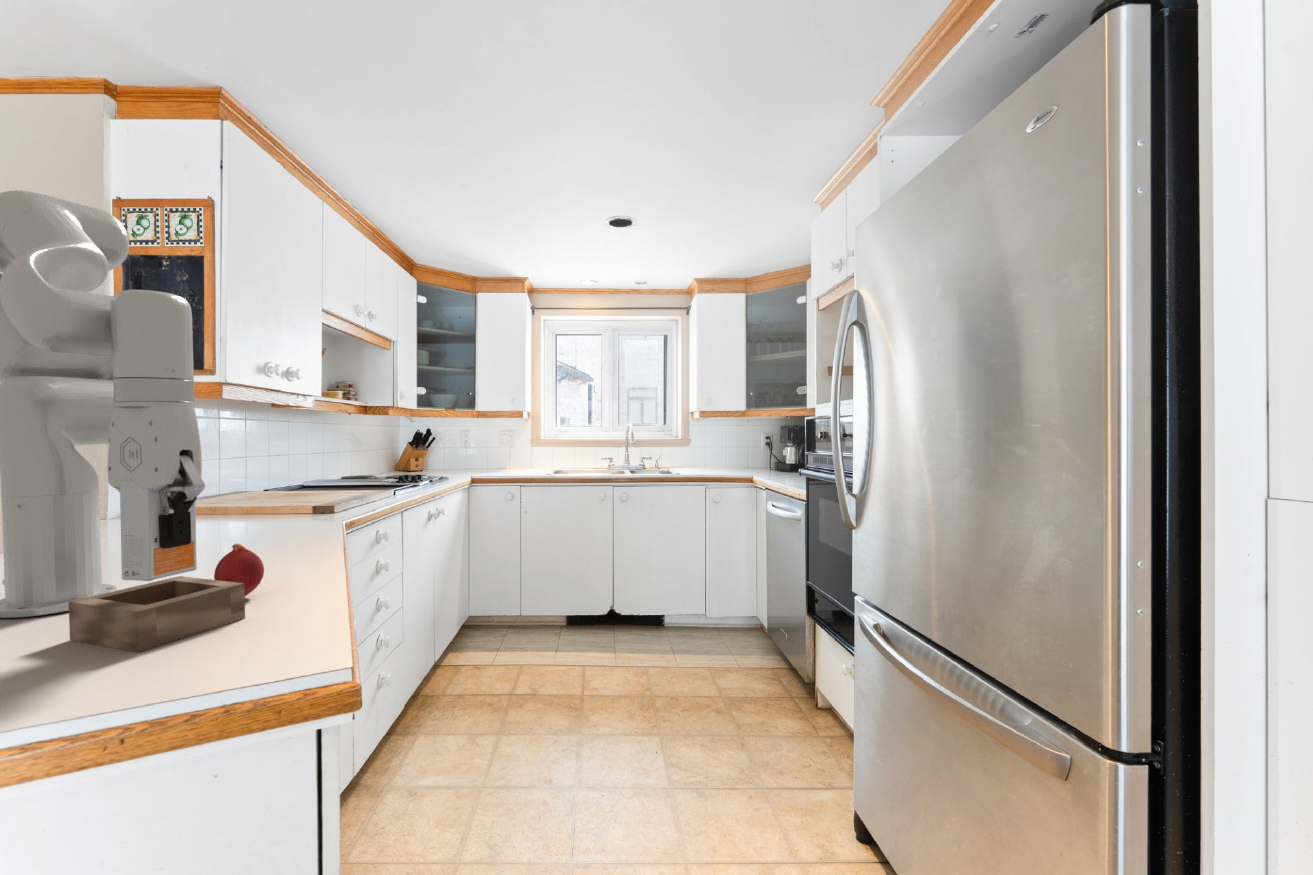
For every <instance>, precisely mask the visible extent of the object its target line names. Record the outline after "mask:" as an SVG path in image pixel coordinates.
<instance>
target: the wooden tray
mask: <svg viewBox="0 0 1313 875" xmlns="http://www.w3.org/2000/svg"><path fill="white" fill-rule="evenodd" d="M245 600H246V596H245V593H244V583H236V582H227V581H218V580H215V579H209V578H199V577H189V576H181V575H179V576H175V577H170V578H165V579H162V580H157V581H154V582H153V581H152V582H149V583H145V584H141V585H140V584H139V585H134V586H132V587H127V588H123V589H118V590H117V591H113V592H109V593H105V594H100V595H96V596H91V597H87V598H83V599H78V600H74V601H70V602H69V611H68V621H69V622H68V623H69V627H68V628H69V641H72V642H73V641H74V642H79V643H83V644H84V643H85V644H90V645H94V646H101V647H105V648H111V649H112V648H113V649H118V650H123V651H129V652H135V653H141V652H144V651H148V650H150V649H153V648H156V647H159V646H160V647H161V646H163V645H166V644H170V643H173V642H175V641H176V642H177V641H178V639H179V640H182V639H185V638H188V637H190V636H194V635H197V634H201V633H204V632H207V631H209V630H213V629H215V628H216V629H217V628H219V627H222V626H225V625H228V624H231V623H234V621H235V622H238V621H240V619H241V620H243V619H246V602H245ZM172 641H173V642H172Z"/></svg>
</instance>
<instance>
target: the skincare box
mask: <svg viewBox="0 0 1313 875" xmlns="http://www.w3.org/2000/svg"><path fill="white" fill-rule="evenodd" d="M177 486H179V482H173V483H172V484H168V487H177ZM176 494H177V493H171V497H172V500H173V498H174V497H175V495H176ZM119 502H120V508H119V510H120V548H121V549H120V550H121V552H120V553H121V554H120V555H121V558H120V559H121V579H122V580H123V581H141V582H151V581H154V580H158V579H162V578H167V577H170V576H174V575H179V574H183V573H188V572H193V571H196V570H197V568H198V567H197V565H198V564H197V522H196V521H197V519H196V518H197V517H196V514H197V512H196V508H197V507H196V501H195V502H194V503H193V506H194V509H193V511H192V512H190V516H191V543H190V544H188V545H183V546H177V547H172V548H166V549H165V548H161V547H160V541H159V515H164V513H163V510H162V506H161V501H160V496H159V490H148V489H143V488H138V487H137V484H136V482H135V481H134V480H128V479H123V480H120V492H119Z"/></svg>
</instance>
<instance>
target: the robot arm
mask: <svg viewBox="0 0 1313 875" xmlns="http://www.w3.org/2000/svg"><path fill="white" fill-rule="evenodd" d="M129 250H130V239H129V235H128V232H127V229H126V228H125V226H124V224H122V222H121V221H120V220H119V219H118V218H117V217H116V216H114V215H112V214H111V213H109V212H108V211H105V210H103V209H100V208H98V207H97V208H95V207H92V206H89V205H85V204H81V203H78V202H73V201H70V200H66V199H62V198H57V197H54V196H52V195H47V194H42V193H39V192H35V191H27V190H16V189H15V190H5V191H2V192H0V494H1V495H0V496H1V520H2V521H1V522H2V523H1V526H2V548H3V549H2V550H3V552H2V553H3V579H2V585H3V586H4V598H2V599H0V619H3V618H4V619H9V618H12V619H13V618H15V619H16V618H31V617H38V616H39V617H40V616H46V615H52V614H57V613H64V612H69V602H70V601H74V600H78V599H83V598H87V597H91V596H96V595H100V594H105V593H109V592H113V591H118V590H117V589H118V587H117V586H115V585H113V584H108V583H107V584H106V583H103V576H102V574H103V573H102V569H103V568H102V544H101V542H102V539H101V513H100V512H101V510H100V509H101V508H100V506H101V504H100V481H99V476H98V473H97V472H96V470H95V467H94V466H93V465H92V464H91V463H90V462H89V461H88V460H87V459H86V458H85V457H84V456H83V455H82V454H81V453H80V452H79V450H77V449H76V448H75V447H77V446H87V445H89V446H91V445H107V446H108V447H107V448H108V449H107V482H108V484H109V486H111V487H112V488H114V489H116V490H117V491H118V492H119V493H120V480H123V479H128V480H134V481H135V482H136V484H137V487H138V488H143V489H148V490H159V496H160V501H161V506H162V510H163V513H164V515H159V541H160V547H161V548H165V549H166V548H172V547H177V546H183V545H188V544H190V543H191V516H190V512H192V511H193V509H194V506H193V503H194V502H195V503H196V500H197V498H198V497H199V495H200V494H201V493H202V492H203V490H205V488H206V484H205V482H204V480H203V478H202V474H203V472H202V470H203V466H202V465H203V461H202V460H203V458H202V446H201V437H200V430H199V425H198V419H197V415H196V409H195V408H196V406H195V404H196V402H195V401H196V400H195V397H196V396H195V382H194V381H195V373H194V372H195V371H194V368H195V367H194V343H193V342H194V340H193V314H192V307H191V305H190V303H189V302H188V300H186V299H185V298H184V297H182V296H179V295H177V294H175V293H169V292H165V291H159V290H148V289H125V290H120V291H118V292H116V293H115V294H114V295H112V296H111V295H106V294H99V293H94V292H93V291H95V290H97V288H99V287H100V286H102V285H103V283H104V282H105V281H106V279H107V277H108V274H109V272H111V271H112V270H114V269H116V268H118V267H120V265H121V264H123V262H125V260H126V259H127V257H128V254H129ZM173 482H179V486H177V487H168V484H172V483H173ZM171 493H177V494H176V495H175V497H174V498H173V500H172V497H171Z"/></svg>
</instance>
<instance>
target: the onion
mask: <svg viewBox="0 0 1313 875" xmlns="http://www.w3.org/2000/svg"><path fill="white" fill-rule="evenodd" d="M231 548H232V550H231V551H230V552H228V553H227V554H225V555H224V556H222V558H221V559H220V560H219V561H218V563H217V564H216V566H215V569H214V574H213V575H214V576H213V580H218V581H227V582H236V583H244V593H245V597H247V596H248V595H249V594H251V593H252V592H253V591H254V590H255V589H257V587H258V586H259V585H260V584H261V581H262V580H263V579H264V574H265V567H264V563H263V561H262V559H261V558H260V557H259V556H258V555H257V554H256V553H255V552H254V551H251V550H250V549H248V548H246V547H245V546H243V545H242V544H241V543H234V544H232V546H231Z"/></svg>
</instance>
